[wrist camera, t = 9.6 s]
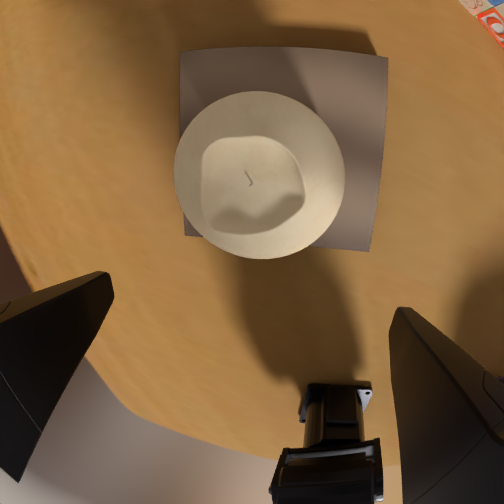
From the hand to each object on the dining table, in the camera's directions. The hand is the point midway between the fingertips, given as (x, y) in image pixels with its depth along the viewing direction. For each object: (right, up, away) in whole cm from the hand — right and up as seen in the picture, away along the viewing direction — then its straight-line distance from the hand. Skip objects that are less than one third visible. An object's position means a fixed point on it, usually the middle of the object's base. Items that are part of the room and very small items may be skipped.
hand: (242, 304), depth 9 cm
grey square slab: (+2, +8, +10) cm, 13 cm away
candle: (+2, +7, +8) cm, 11 cm away
